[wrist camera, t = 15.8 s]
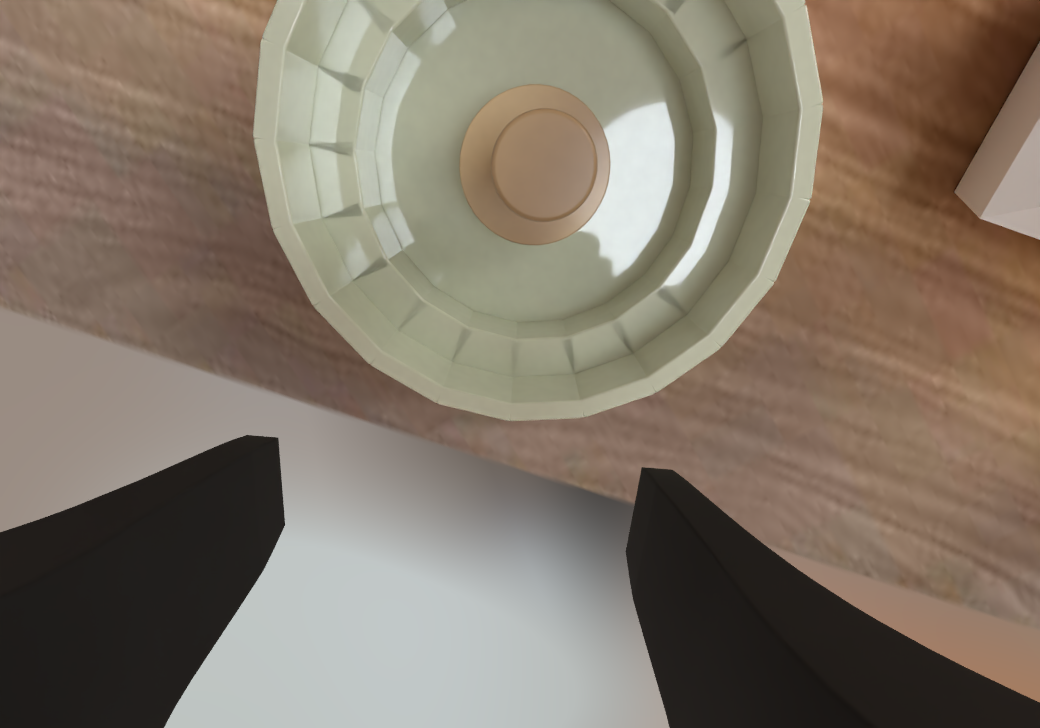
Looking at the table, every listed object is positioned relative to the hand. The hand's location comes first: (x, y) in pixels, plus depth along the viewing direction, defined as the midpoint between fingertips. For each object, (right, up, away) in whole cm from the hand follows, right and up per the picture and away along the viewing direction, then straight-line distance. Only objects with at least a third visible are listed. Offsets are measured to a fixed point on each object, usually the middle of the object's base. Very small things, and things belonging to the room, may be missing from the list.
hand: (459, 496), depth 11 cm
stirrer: (+2, +9, +7) cm, 12 cm away
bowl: (+2, +9, +8) cm, 12 cm away
